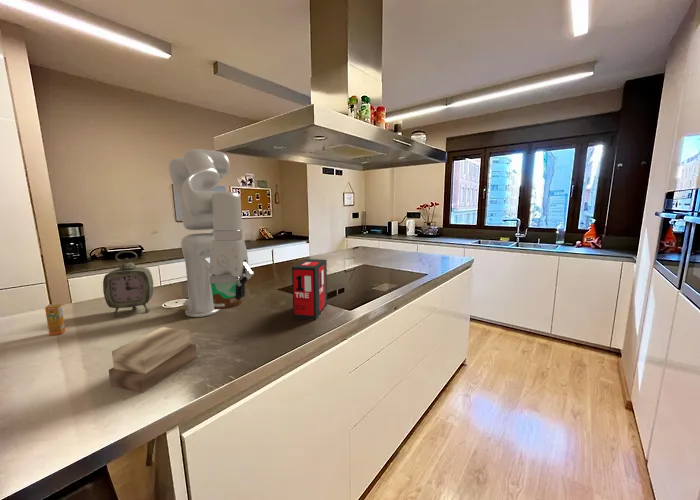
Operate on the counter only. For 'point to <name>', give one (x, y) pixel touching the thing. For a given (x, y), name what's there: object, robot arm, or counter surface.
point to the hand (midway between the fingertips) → (231, 296)
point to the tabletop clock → (128, 286)
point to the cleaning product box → (309, 288)
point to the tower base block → (152, 372)
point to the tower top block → (150, 350)
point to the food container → (224, 291)
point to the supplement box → (55, 319)
